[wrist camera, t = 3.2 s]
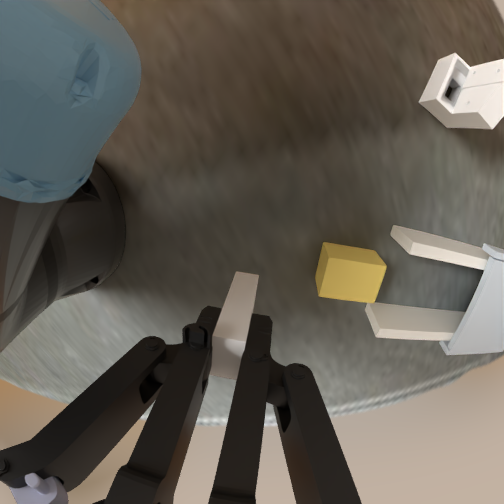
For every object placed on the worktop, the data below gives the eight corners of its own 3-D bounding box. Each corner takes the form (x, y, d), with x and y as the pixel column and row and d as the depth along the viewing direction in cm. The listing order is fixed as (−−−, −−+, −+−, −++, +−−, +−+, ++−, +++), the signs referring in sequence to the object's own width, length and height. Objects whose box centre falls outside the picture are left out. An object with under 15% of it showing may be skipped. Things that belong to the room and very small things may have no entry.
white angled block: (488, 53, 12) (535, 74, 6) (438, 117, 20) (466, 157, 14) (461, 27, 11) (504, 35, 6) (412, 94, 19) (434, 126, 14)
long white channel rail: (364, 309, 25) (375, 337, 21) (392, 224, 22) (413, 242, 18) (487, 320, 25) (503, 339, 20) (515, 258, 21) (535, 273, 17)
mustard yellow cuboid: (314, 276, 25) (318, 296, 22) (322, 241, 23) (328, 257, 20) (364, 283, 25) (374, 303, 21) (374, 250, 23) (386, 266, 20)
